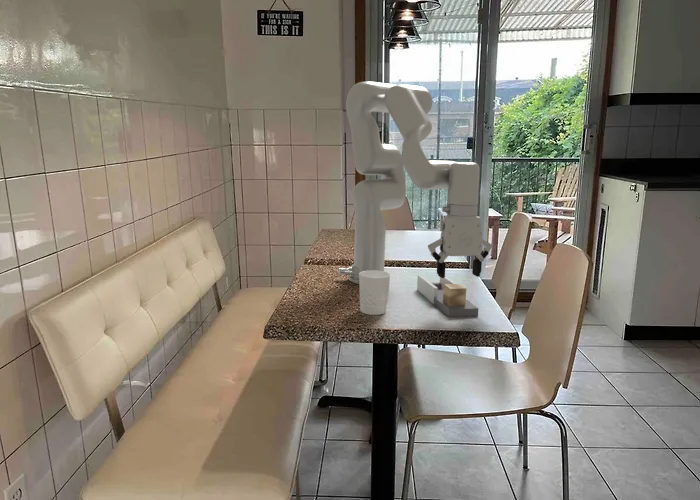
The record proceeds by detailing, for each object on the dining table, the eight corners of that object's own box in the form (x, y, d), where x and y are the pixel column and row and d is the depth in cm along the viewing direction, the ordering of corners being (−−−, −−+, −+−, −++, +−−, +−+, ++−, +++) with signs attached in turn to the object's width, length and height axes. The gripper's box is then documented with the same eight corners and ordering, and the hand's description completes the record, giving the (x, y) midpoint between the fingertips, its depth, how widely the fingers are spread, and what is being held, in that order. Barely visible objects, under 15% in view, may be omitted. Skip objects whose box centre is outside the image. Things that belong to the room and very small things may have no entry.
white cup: (394, 311, 140) (396, 274, 138) (375, 318, 134) (376, 279, 132) (371, 304, 145) (372, 268, 143) (351, 311, 139) (352, 273, 137)
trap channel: (448, 317, 136) (449, 300, 136) (416, 289, 160) (417, 275, 159) (477, 315, 138) (479, 299, 137) (442, 289, 162) (443, 274, 161)
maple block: (448, 305, 139) (449, 288, 138) (443, 300, 144) (444, 284, 143) (465, 305, 140) (466, 288, 139) (459, 299, 144) (460, 283, 144)
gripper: (435, 213, 132) (432, 281, 135) (500, 212, 135) (496, 278, 139) (425, 209, 139) (422, 274, 142) (486, 209, 143) (483, 272, 146)
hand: (458, 276), depth 140 cm, fingers open, 9 cm apart
